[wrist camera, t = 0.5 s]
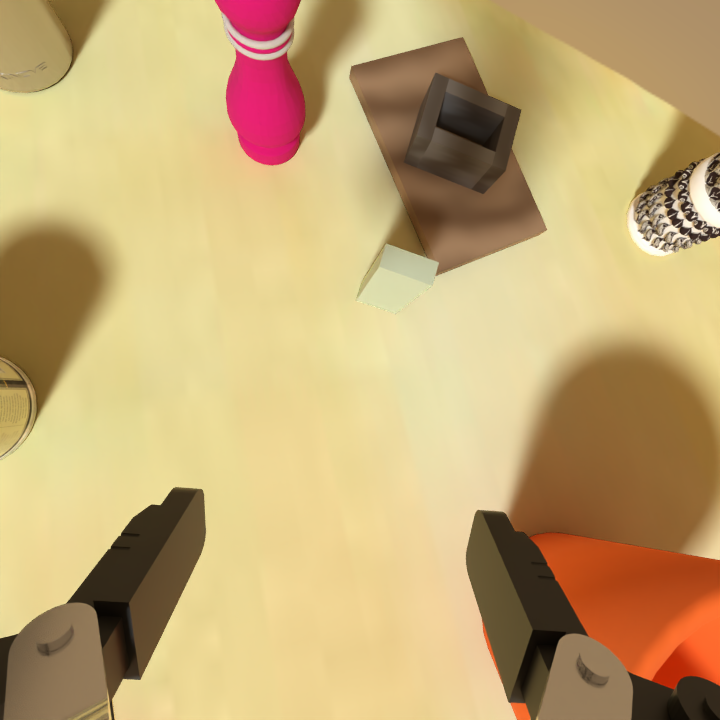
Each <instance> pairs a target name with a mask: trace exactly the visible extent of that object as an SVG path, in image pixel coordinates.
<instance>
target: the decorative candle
mask: <svg viewBox="0 0 720 720" xmlns="http://www.w3.org/2000/svg"><path fill="white" fill-rule="evenodd" d="M627 227H628V230H629V233H630V235H631V238H632V240H633V241H634V242H635V243H636V244H637V246H638V247H639V248H640V249H641V250H643V251H645V252H647V253H648V254H650V255H655V256H665V255H668V254H670V253H673V252H674V253H676V252H678V250H679V248H680V247H681V248H683V249H687V248H690V247H691V246H692V243H695V244H700V243H701V241H707V240H709V239H710V238H716V237H718V236H720V152H718V153H715V154H713V155H712V156H710V157H708V158H706V159H702V160H700V161H699V162H692V163H691V164H690V165H689V167H688V168H686V169H685V170H684V171H683V170H679V171H677V172H676V173H675V176H672V177H670V178H665V179H662V180H661V181H660V182H659V183H658V185H655V186H651V187H649V188H648V189H647V190H646V192H643V193H640V194H639V195H638V196H637V197H636V198H635V199H634V200H633V201H632V202H631V203H630V206H629V208H628V211H627Z"/></svg>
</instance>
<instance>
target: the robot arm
mask: <svg viewBox="0 0 720 720" xmlns="http://www.w3.org/2000/svg"><path fill="white" fill-rule="evenodd" d="M72 52H73V49H72V43H71V39H70V37H69V35H68V33H67V31H66V29H65V28H64V26H63V24H62V23H61V21H60V19H59V18H58V16H57V15H56V13H55V11H54V10H53V8H52V7H51V5H50V3H49V2H48V0H0V89H3V90H7V91H12V92H23V93H27V92H34V91H39V90H42V89H45V88H48V87H50V86H51V85H53V84H55V83H56V82H58V81H59V80H60V79H61V78H62V77H63V76H64V75H65V73H66V72H67V70H68V69H69V66H70V64H71V61H72ZM205 535H206V526H205V506H204V493H203V490H202V489H193V488H179V487H175V488H173V489H172V490H171V492H170V493H169V494H168V496H167V497H166V499H165V500H164V501H163V503H162V504H161V505H150V506H149V507H147V508H146V509H144V510H143V511H142V512H140V513H139V514H137V515H136V516H135V517H133V519H132V520H131V521H130V522H129V524H128V525H127V526H126V528H125V529H124V530H123V531H122V533H121V536H119V537H118V538H117V539H116V540H115V542H114V543H113V544H112V546H111V549H108V551H107V552H106V553H105V555H104V556H103V557H102V558H101V560H100V561H99V562H98V564H97V565H96V566H95V567H94V569H93V570H92V571H91V573H90V574H89V575H88V576H87V578H86V579H85V580H84V582H83V583H82V584H81V585H80V587H79V588H78V589H77V591H76V592H75V593H74V595H73V596H72V597H71V598H70V600H69V601H68V602H67V603H66V604H64V605H60V606H57V607H55V608H52V609H50V610H48V611H46V612H44V613H43V614H41V615H39V616H38V617H36V618H35V619H34V620H32V621H31V622H30V623H29V624H28V625H26V626H25V627H24V628H23V629H22V630H21V632H20V633H19V634H16V635H13V636H9V637H4V638H0V720H115V714H114V706H113V700H112V699H113V697H114V695H115V693H116V691H117V689H118V687H119V685H120V683H121V682H122V680H123V679H135V680H140V679H141V677H142V675H143V673H144V671H145V669H146V667H147V665H148V663H149V660H150V658H151V656H152V654H153V652H154V650H155V648H156V646H157V644H158V642H159V640H160V638H161V636H162V634H163V632H164V629H165V627H166V625H167V623H168V621H169V619H170V617H171V615H172V613H173V611H174V609H175V607H176V605H177V603H178V600H179V598H180V596H181V594H182V592H183V590H184V588H185V586H186V584H187V582H188V580H189V578H190V576H191V574H192V572H193V569H194V567H195V565H196V563H197V561H198V559H199V557H200V555H201V552H202V549H203V546H204V542H205ZM466 565H467V571H468V575H469V579H470V582H471V585H472V588H473V591H474V594H475V598H476V601H477V604H478V607H479V610H480V613H481V617H482V620H483V623H484V626H485V629H486V632H487V636H488V639H489V642H490V645H491V648H492V651H493V655H494V658H495V661H496V664H497V667H498V670H499V674H500V677H501V680H502V683H503V686H504V689H505V693H506V696H507V699H508V702H509V703H526V706H527V709H528V712H529V715H530V720H720V686H719V685H717V684H715V683H713V682H711V681H709V680H707V679H704V678H701V677H696V676H686V677H683V678H681V679H680V680H679V682H678V683H677V685H676V687H675V689H672V688H669V687H666V686H664V685H661V684H658V683H656V682H653V681H650V680H648V679H645V678H642V677H640V676H637V675H635V674H632V673H630V672H628V671H627V670H626V668H625V667H624V665H623V664H622V663H621V661H620V660H619V659H618V658H617V657H616V656H615V655H614V654H613V653H612V652H611V651H610V650H609V649H608V648H607V647H605V646H604V645H603V644H601V643H600V642H598V641H596V640H594V639H592V638H590V637H589V636H588V634H587V633H586V631H585V629H584V627H583V625H582V624H581V622H580V620H579V618H578V617H577V615H576V613H575V611H574V609H573V608H572V606H571V604H570V602H569V601H568V599H567V597H566V595H565V593H564V592H563V590H562V588H561V586H560V585H559V583H558V581H556V580H555V576H554V574H553V572H552V570H551V569H550V567H549V566H548V565H547V561H546V560H545V558H544V556H543V554H542V553H541V551H540V549H539V547H538V546H537V545H536V544H535V543H534V542H533V541H532V540H531V539H530V538H529V537H528V536H527V535H526V534H525V533H524V532H516V531H514V529H513V527H512V525H511V523H510V521H509V519H508V517H507V515H506V514H505V513H504V512H498V511H484V510H478V511H476V513H475V516H474V521H473V525H472V529H471V534H470V538H469V542H468V547H467V552H466Z"/></svg>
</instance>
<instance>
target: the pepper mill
mask: <svg viewBox="0 0 720 720" xmlns="http://www.w3.org/2000/svg"><path fill="white" fill-rule="evenodd" d="M300 1H301V0H215V2H216V3H217V5H218V7H219V9H220V10H221V12H222V18H223V21H224V29H225V32H226V35H227V37H228V39H229V41H230V42H231V44H232V45H233V46H234V47H235V49H236V61H235V64H234V67H233V69H232V72H231V74H230V76H229V79H228V84H227V90H226V103H227V111H228V115H229V118H230V121H231V123H232V125H233V126H234V128H235V129H236V131H237V133H238V138H239V142H240V145H241V147H242V148H243V150H244V151H245V153H246V154H247V155H248V156H249V157H251V158H252V159H253V160H255V161H257V162H259V163H262V164H266V165H278V164H282V163H284V162H286V161H288V160H289V159H291V158H292V157H293V156H294V154H295V153H296V151H297V149H298V147H299V138H300V131H301V129H302V127H303V124H304V121H305V101H304V96H303V92H302V90H301V87H300V84H299V81H298V79H297V77H296V76H295V74H294V72H293V70H292V68H291V66H290V64H289V62H288V59H287V51H288V49H289V48H290V46H291V45H292V42H293V38H294V16H295V14H296V12H297V9H298V7H299V4H300Z"/></svg>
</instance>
